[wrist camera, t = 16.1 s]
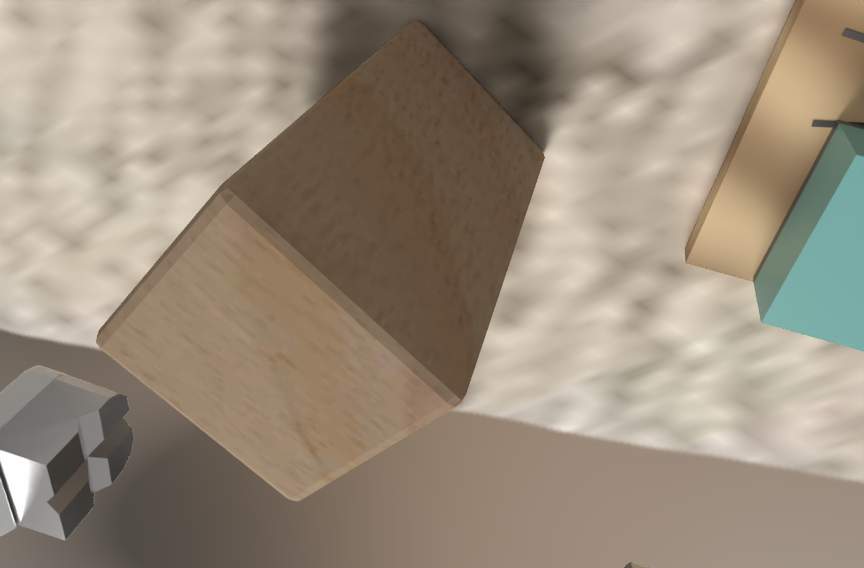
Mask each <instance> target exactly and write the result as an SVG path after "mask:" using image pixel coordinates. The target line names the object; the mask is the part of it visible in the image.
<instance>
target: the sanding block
mask: <svg viewBox="0 0 864 568" xmlns="http://www.w3.org/2000/svg"><path fill="white" fill-rule="evenodd" d="M753 281H754V287H755V292H756V297H757V303H758V308H759V313H760V319H761V323H765V324H768V325H772V326H776V327H779V328H783V329H786V330H790V331H793V332H797V333H801V334H804V335H808V336H811V337H815V338H818V339H822V340H826V341H829V342H833V343H836V344H840V345H843V346H847V347H851V348H854V349H858V350H861V351H864V126H862V125H858V124H854V123H850V122H846V121H842V120H838V119H837V120H836V122H835V124H834V126H833V128H832V130H831V132H830V134H829V135H828V137H827V139H826V141H825V143H824V145H823V147H822V149H821V150H820V152H819V154H818V156H817V158H816V160H815V162H814V164H813V166H812V167H811V169H810V171H809V173H808V175H807V177H806V179H805V181H804V182H803V184H802V186H801V188H800V190H799V192H798V194H797V196H796V198H795V199H794V201H793V203H792V205H791V207H790V209H789V211H788V213H787V214H786V216H785V218H784V220H783V222H782V224H781V226H780V228H779V229H778V231H777V233H776V235H775V237H774V239H773V241H772V243H771V245H770V246H769V248H768V250H767V252H766V254H765V256H764V258H763V260H762V261H761V263H760V265H759V267H758V269H757V271H756V273H755V275H754V276H753Z"/></svg>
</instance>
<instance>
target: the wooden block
mask: <svg viewBox="0 0 864 568" xmlns="http://www.w3.org/2000/svg"><path fill="white" fill-rule="evenodd" d="M544 158H545V157H544V154H543V152H542V150H541V149H540V148H539V147H538V146H537V145H536V144H535V143H534V142H533V141H532V140H531V139H530V137H529V136H528V135H527V134H526V133H525V132H524V131H523V130H522V129H521V128H520V127H519V126H518V125H517V124H516V123H515V122H514V120H513V119H512V118H511V117H510V116H509V115H508V114H507V113H506V112H505V111H504V110H503V109H502V108H501V107H500V106H499V104H498V103H497V102H496V101H495V100H494V99H493V98H492V97H491V96H490V95H489V94H488V93H487V92H486V91H485V90H484V89H483V87H482V86H481V85H480V84H479V83H478V82H477V81H476V80H475V79H474V78H473V77H472V76H471V75H470V74H469V73H468V72H467V70H466V69H465V68H464V67H463V66H462V65H461V64H460V63H459V62H458V61H457V60H456V59H455V58H454V57H453V56H452V55H451V53H450V52H449V51H448V50H447V49H446V48H445V47H444V46H443V45H442V44H441V43H440V42H439V41H438V40H437V39H436V37H435V36H434V35H433V34H432V33H431V32H430V31H429V30H428V29H427V28H426V27H425V26H424V25H423V24H422V23H420V22H418V21H416V20H415V21H413V22H411V23H409V24H407V25H406V26H405V27H404V28H403V29H402V30H401V31H399V32H398V33H397V34H396V35H395V36H394V37H392V38H391V39H390V40H389V41H388V42H387V43H385V44H384V45H383V46H382V47H381V48H380V49H378V50H377V51H376V52H375V53H374V54H373V55H371V56H370V57H369V58H368V59H367V60H366V61H364V62H363V63H362V64H361V65H360V66H359V67H358V68H356V69H355V70H354V71H353V72H352V73H351V74H349V75H348V76H347V77H346V78H345V79H344V80H342V81H341V82H340V83H339V84H338V85H337V86H335V87H334V88H333V89H332V90H331V91H330V92H328V93H327V94H326V95H325V96H324V97H323V98H321V99H320V100H319V101H318V102H317V103H316V104H315V105H313V106H312V107H311V108H310V109H309V110H308V111H306V112H305V113H304V114H303V115H302V116H301V117H299V118H298V119H297V120H296V121H295V122H294V123H292V124H291V125H290V126H289V127H288V128H287V129H285V130H284V131H283V132H282V133H281V134H280V135H278V136H277V137H276V138H275V139H274V140H273V141H272V142H270V143H269V144H268V145H267V146H266V147H265V148H263V149H262V150H261V151H260V152H259V153H258V154H256V155H255V156H254V157H253V158H252V159H251V160H249V161H248V162H247V163H246V164H245V165H244V166H242V167H241V168H240V169H239V170H238V171H237V172H235V173H234V174H233V175H232V176H231V177H230V178H229V179H227V180H226V181H225V182H224V183H223V184H222V185H221V186H220V187H219V188H218V189H217V191H216V192H215V193H214V194H213V195H212V197H211V198H210V199H209V200H208V201H207V202H206V204H205V205H204V206H203V207H202V208H201V210H200V211H199V212H198V213H197V214H196V216H195V217H194V218H193V219H192V220H191V221H190V223H189V224H188V225H187V226H186V227H185V229H184V230H183V231H182V232H181V233H180V235H179V236H178V237H177V238H176V239H175V240H174V242H173V243H172V244H171V245H170V246H169V248H168V249H167V250H166V251H165V252H164V254H163V255H162V256H161V257H160V258H159V259H158V261H157V262H156V263H155V264H154V265H153V267H152V268H151V269H150V270H149V271H148V273H147V274H146V275H145V276H144V277H143V279H142V280H141V281H140V282H139V283H138V284H137V286H136V287H135V288H134V289H133V290H132V292H131V293H130V294H129V295H128V296H127V298H126V299H125V300H124V301H123V302H122V303H121V305H120V306H119V307H118V308H117V309H116V311H115V312H114V313H113V314H112V315H111V317H110V318H109V319H108V320H107V321H106V322H105V324H104V325H103V326H102V327H101V328H100V330H99V333H98V335H97V339H96V343H97V344H98V346H99V347H100V349H101V350H103V351H104V352H105V353H106V354H108V355H109V356H110V357H111V358H113V359H114V360H115V361H116V362H118V363H119V364H120V365H121V366H123V367H124V368H125V369H126V370H128V371H129V372H130V373H131V374H133V375H134V376H135V377H136V378H138V379H139V380H140V381H141V382H143V383H144V384H145V385H146V386H148V387H149V388H150V389H151V390H153V391H154V392H155V393H156V394H158V395H159V396H160V397H161V398H163V399H164V400H165V401H166V402H168V403H169V404H170V405H171V406H173V407H174V408H175V409H176V410H178V411H179V412H180V413H181V414H183V415H184V416H185V417H186V418H188V419H189V420H190V421H191V422H193V423H194V424H195V425H196V426H198V427H199V428H200V429H201V430H203V431H204V432H205V433H206V434H208V435H209V436H210V437H211V438H213V439H214V440H215V441H216V442H218V443H219V444H220V445H221V446H223V447H224V448H225V449H226V450H228V451H229V452H230V453H231V454H233V455H234V456H235V457H236V458H238V459H239V460H240V461H241V462H243V463H244V464H245V465H246V466H247V467H249V468H250V469H251V470H252V471H254V472H255V473H256V474H258V475H259V476H260V477H261V478H263V479H264V480H265V481H266V482H267V483H269V484H270V485H271V486H273V487H274V488H275V489H276V490H278V491H279V492H280V493H281V494H282V495H284V496H285V497H286V498H288V499H290V500H293V501H300V500H302V499H303V498H305V497H307V496H308V495H310V494H312V493H313V492H315V491H316V490H318V489H320V488H321V487H323V486H325V485H326V484H328V483H330V482H332V481H333V480H335V479H337V478H338V477H340V476H342V475H343V474H345V473H347V472H348V471H350V470H352V469H353V468H355V467H356V466H358V465H360V464H361V463H363V462H365V461H366V460H368V459H370V458H371V457H373V456H375V455H376V454H378V453H380V452H381V451H383V450H385V449H386V448H388V447H390V446H391V445H393V444H394V443H396V442H398V441H400V440H401V439H403V438H405V437H406V436H408V435H409V434H411V433H413V432H415V431H416V430H418V429H419V428H421V427H423V426H424V425H426V424H428V423H429V422H431V421H433V420H434V419H436V418H438V417H439V416H441V415H443V414H444V413H446V412H448V411H449V410H451V409H453V408H454V407H456V406H457V405H458V404H460V403H461V402H462V400H463V399H464V397H465V395H466V393H467V390H468V387H469V384H470V381H471V377H472V374H473V371H474V368H475V365H476V362H477V359H478V356H479V353H480V350H481V347H482V344H483V341H484V338H485V335H486V332H487V329H488V326H489V323H490V320H491V317H492V314H493V311H494V308H495V305H496V302H497V299H498V296H499V293H500V290H501V287H502V284H503V281H504V278H505V275H506V272H507V269H508V266H509V263H510V260H511V257H512V254H513V251H514V248H515V245H516V242H517V239H518V236H519V233H520V230H521V227H522V224H523V221H524V218H525V215H526V212H527V209H528V206H529V203H530V200H531V197H532V194H533V191H534V188H535V185H536V182H537V179H538V176H539V173H540V170H541V167H542V164H543V161H544Z"/></svg>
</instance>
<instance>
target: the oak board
mask: <svg viewBox="0 0 864 568" xmlns="http://www.w3.org/2000/svg"><path fill="white" fill-rule="evenodd" d="M837 119H838V120H842V121H846V122H850V123H854V124H858V125H862V126H864V0H796V1H795V3H794V6H793V8H792V10H791V12H790V15H789V17H788V19H787V21H786V24H785V26H784V28H783V30H782V32H781V35H780V37H779V39H778V41H777V44H776V46H775V48H774V50H773V53H772V55H771V57H770V59H769V62H768V64H767V66H766V68H765V71H764V73H763V75H762V77H761V80H760V82H759V84H758V86H757V89H756V91H755V93H754V95H753V97H752V100H751V102H750V104H749V106H748V109H747V111H746V113H745V115H744V118H743V120H742V122H741V124H740V127H739V129H738V131H737V133H736V136H735V138H734V140H733V142H732V145H731V147H730V149H729V151H728V154H727V156H726V158H725V160H724V162H723V165H722V167H721V169H720V171H719V174H718V176H717V178H716V180H715V183H714V185H713V187H712V189H711V192H710V194H709V196H708V198H707V201H706V203H705V205H704V207H703V210H702V212H701V214H700V216H699V219H698V221H697V223H696V225H695V228H694V230H693V232H692V234H691V236H690V239H689V241H688V243H687V245H686V248H685V260H686V263H687V264H691V265H695V266H698V267H702V268H705V269H709V270H713V271H716V272H720V273H724V274H727V275H731V276H735V277H738V278H742V279H745V280H749V281H753V276H754V275H755V273H756V271H757V269H758V267H759V265H760V263H761V261H762V260H763V258H764V256H765V254H766V252H767V250H768V248H769V246H770V245H771V243H772V241H773V239H774V237H775V235H776V233H777V231H778V229H779V228H780V226H781V224H782V222H783V220H784V218H785V216H786V214H787V213H788V211H789V209H790V207H791V205H792V203H793V201H794V199H795V198H796V196H797V194H798V192H799V190H800V188H801V186H802V184H803V182H804V181H805V179H806V177H807V175H808V173H809V171H810V169H811V167H812V166H813V164H814V162H815V160H816V158H817V156H818V154H819V152H820V150H821V149H822V147H823V145H824V143H825V141H826V139H827V137H828V135H829V134H830V132H831V130H832V128H833V126H834V124H835V122H836V120H837ZM753 282H754V281H753Z"/></svg>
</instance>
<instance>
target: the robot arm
mask: <svg viewBox="0 0 864 568" xmlns="http://www.w3.org/2000/svg"><path fill="white" fill-rule="evenodd" d="M128 411H129V405H128V400H127V396H126V395H123V394H120V393H117V392H114V391H111V390H109V389H106V388H103V387H100V386H98V385H95V384H92V383H89V382H86V381H83V380H80V379H78V378H75V377H72V376H69V375H67V374H64V373H61V372H58V371H55V370H52V369H49V368H46V367H43V366H40V365H37V366H34V367H32V368H29V369H27V370H25V371H24V372H23V373H22V374H21V375H20V376H19V377H17V378H16V379H15V380H14V381H13V382H12V383H11V384H9V385H8V386H7V387H6V388H5V389H4V390H3V391H2V392H0V536H2V535H4V534H6V533H7V532H9V531H11V530H13V529H15V528H16V524H18V525H20V526H23V527H26V528H29V529H32V530H36V531H38V532H41V533H44V534H48V535H50V536H54V537H57V538H60V539H63V540H67V538H68V537H69V536H70V535H71V534H72V532H73V531H74V530H75V529H76V527H77V526H78V525H79V524H80V523H81V521H82V520H83V519H84V518H85V517H86V515H87V514H88V513H89V512H90V510H91V509H92V508H93V507H94V492H96V491H98V490H100V489H102V488H104V487H107V486H109V485H111V484H112V483H113V482H114V481H115V480H116V478H117V477H118V476H119V474H120V473H121V472H122V471H123V469H124V467H125V465H126V463H127V460H128V458H129V456H130V454H131V451H132V445H133V432H132V428H131V427H130V426H129V425H128V423H127V422H126V421H125V420H124V418H123V417H124V416H125V415H126V414H127V413H128ZM624 568H648V567H644V566H642V565H638V564H635V563H632V562H630V563H628V564H627V565H626V566H625V567H624Z"/></svg>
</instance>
